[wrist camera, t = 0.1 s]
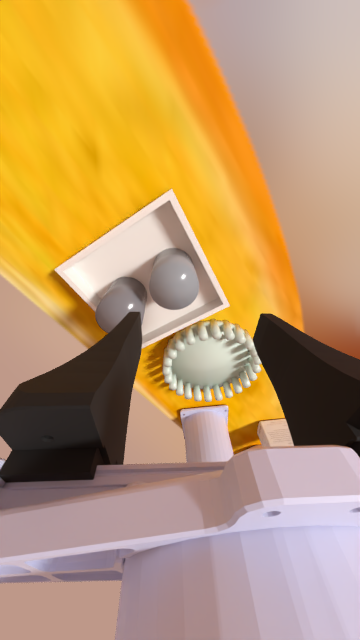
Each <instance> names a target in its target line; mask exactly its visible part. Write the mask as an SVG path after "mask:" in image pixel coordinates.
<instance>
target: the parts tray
mask: <svg viewBox="0 0 360 640" xmlns="http://www.w3.org/2000/svg"><path fill="white" fill-rule="evenodd" d="M168 248H178V249H181V250H183V251H185V252H186V253H187V254H189V256H190V257H191V259H192V261H193V264H194V268H195V271H196V274H197V278H198V281H199V292H198V295H197V297H196V299H195V300H194V301H193V303H191V304H190V305H189V306H187V307H185V308H183V309H179V310H169V309H165V308H163V307H161V306H159V305H158V304H157V303H156V302H155V301H154V300H153V299H152V297H151V295H150V292H149V282H150V277H151V272H152V267H153V262H154V260H155V258H156V256H157V255H158V254H159V253H160V252H161V251H163V250H165V249H168ZM54 270H55V271H56V272H57V273H58V274H59V275H60V276H61V277H62V278H63V279H64V280H65V281H66V282H67V283H68V284H69V285H70V286H71V287H72V288H73V289H74V290H75V291H76V293H77V294H78V295H79V296H80V297H81V298H82V299H83V300H84V301H85V302H86V303H87V304H88V305H89V306H90V307H91V308H92V309H93V310H94V311H95V312H96V309H97V307H98V305H99V303H100V302H101V300H102V298H103V296H104V295H105V293H106V291H107V290H108V288H109V286H110V284H111V283H112V282H113V281H114V280H115V279H117V278H120V277H132V278H135V279H137V280H138V281H140V282H141V283H142V284H143V285H144V287H145V288H146V291H147V302H146V307H145V313H144V318H143V323H142V326H141V327H142V348H144V347H146V346H148V345H150V344H152V343H154V342H156V341H158V340H160V339H162V338H164V337H166V336H169V335H171V334H173V333H175V332H177V331H179V330H181V329H183V328H185V327H187V326H189V325H191V324H193V323H195V322H197V321H199V320H202V319H204V318H206V317H208V316H210V315H212V314H214V313H216V312H218V311H220V310H222V309H224V308H226V307H228V306H230V305H229V303H228V301H227V299H226V297H225V295H224V293H223V291H222V289H221V287H220V285H219V283H218V281H217V279H216V277H215V275H214V273H213V271H212V269H211V267H210V265H209V263H208V261H207V259H206V257H205V255H204V253H203V251H202V249H201V247H200V245H199V243H198V241H197V239H196V237H195V235H194V233H193V231H192V229H191V227H190V225H189V223H188V221H187V219H186V217H185V214H184V212H183V210H182V208H181V206H180V204H179V202H178V200H177V198H176V196H175V194H174V192H173V190H172V188H171V189H170V190H168V191H167V192H166V193H164V194H163V195H161V196H160V197H158V198H157V199H155V200H154V201H152V202H151V203H150V204H148V205H147V206H145V207H144V208H142V209H141V210H139V211H138V212H136V213H135V214H134V215H132V216H131V217H129V218H128V219H126V220H125V221H123V222H122V223H120V224H119V225H118V226H116V227H115V228H113V229H112V230H110V231H109V232H107V233H106V234H104V235H103V236H102V237H100V238H99V239H97V240H96V241H94V242H93V243H91V244H90V245H88V246H87V247H86V248H84V249H83V250H81V251H80V252H78V253H77V254H75V255H74V256H72V257H71V258H70V259H68V260H67V261H65V262H64V263H62V264H61V265H60V266H58V267H57V268H56V269H54ZM142 348H141V349H142Z"/></svg>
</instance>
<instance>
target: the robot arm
mask: <svg viewBox="0 0 360 640" xmlns="http://www.w3.org/2000/svg"><path fill="white" fill-rule="evenodd" d="M253 343H254V346H255V349H256V352H257V355H258V357H259V359H260V361H261V363H262V365H263V367H264V369H265V371H266V373H267V375H268V377H269V379H270V380H271V382H272V384H273V387H274V389H275V391H276V393H277V396H278V399H279V401H280V404H281V407H282V410H283V412H284V415H285V418H286V421H287V424H288V428H289V431H290V434H291V437H292V441H293V444H294V446H276V447H259V448H252V449H247V450H244V451H242V452H239V453H237V454H235V455H234V454H233V450H232V446H231V441H230V437H229V433H228V429H227V421H228V406H227V405H221V406H211V407H201V408H190V409H182V410H180V416H181V422H182V427H183V433H184V439H185V443H186V459H187V463H163V464H162V463H160V464H127V465H123V460H124V451H125V441H126V433H127V424H128V415H129V407H130V400H131V394H132V388H133V384H134V380H135V376H136V372H137V368H138V363H139V359H140V355H141V348H142V327H141V314H140V312H129V313H128V314H127V315H126V316H125V317H124V318H123V319H122V320H121V321H120V322H119V323H118V324H117V325H116V326H115V327H114V328H113V329H112V330H111V331H110V332H109V333H108V334H107V335H106V336H105V337H104V338H103V339H101V340H100V341H99V342H98V343H96V344H95V345H94V346H92V347H91V348H90V349H88V350H87V351H85V352H84V353H82V354H80V355H79V356H77V357H75V358H74V359H72V360H70V361H69V362H67V363H65V364H63V365H61V366H59V367H57V368H55V369H53V370H51V371H49V372H47V373H45V374H42V375H40V376H37V377H35V378H33V379H30V380H29V381H26V382H23V383H21V384H19V386H18V387H17V388H16V389H15V390H14V392H13V393H12V394H11V396H10V397H9V398H8V400H7V401H6V402H5V404H4V405H3V407H2V408H1V409H0V436H1V437H2V438H3V439H4V441H5V442H6V443H7V444H8V445H9V446H10V448H11V449H12V452H11V453H10V455H9V457H8V458H7V460H5V459H2V458H0V583H31V582H81V581H122V584H121V592H120V601H119V609H118V618H117V626H116V634H115V640H360V360H359V359H357V358H354V357H352V356H349V355H347V354H345V353H342V352H340V351H338V350H336V349H333V348H331V347H329V346H327V345H325V344H323V343H321V342H319V341H317V340H315V339H313V338H312V337H310V336H308V335H307V334H305V333H303V332H301V331H300V330H298V329H296V328H295V327H293V326H291V325H290V324H288V323H287V322H285V321H283V320H282V319H280V318H278V317H276V316H275V315H272V314H261V315H260V318H259V321H258V325H257V328H256V331H255V334H254V337H253Z"/></svg>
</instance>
